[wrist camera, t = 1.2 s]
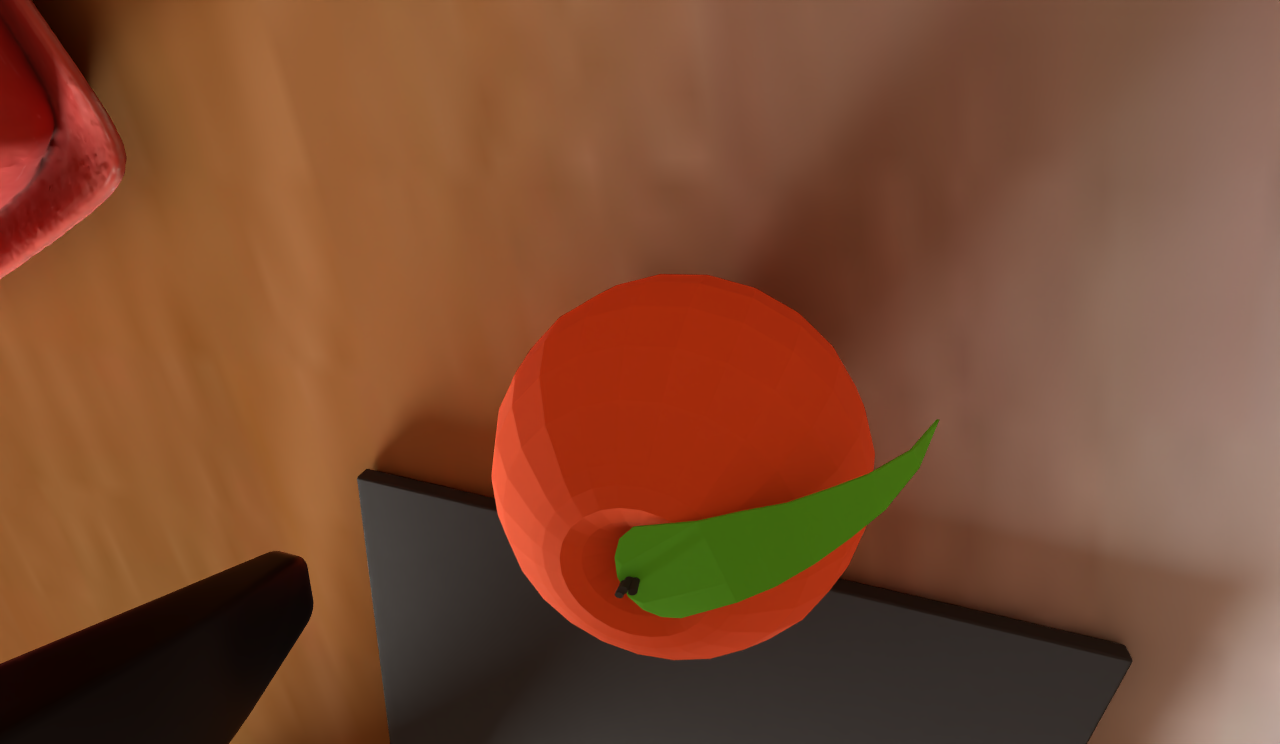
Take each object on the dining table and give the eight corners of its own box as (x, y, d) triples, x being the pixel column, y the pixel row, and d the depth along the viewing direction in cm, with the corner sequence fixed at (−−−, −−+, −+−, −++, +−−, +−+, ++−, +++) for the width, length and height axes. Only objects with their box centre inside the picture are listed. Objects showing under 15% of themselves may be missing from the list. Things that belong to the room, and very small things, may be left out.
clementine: (852, 158, 13) (871, 248, 7) (958, 456, 15) (1048, 741, 9) (520, 300, 16) (320, 452, 10) (642, 532, 18) (540, 782, 12)
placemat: (400, 757, 25) (392, 769, 25) (366, 467, 20) (355, 477, 19) (965, 940, 21) (968, 958, 21) (1125, 644, 16) (1134, 660, 15)
